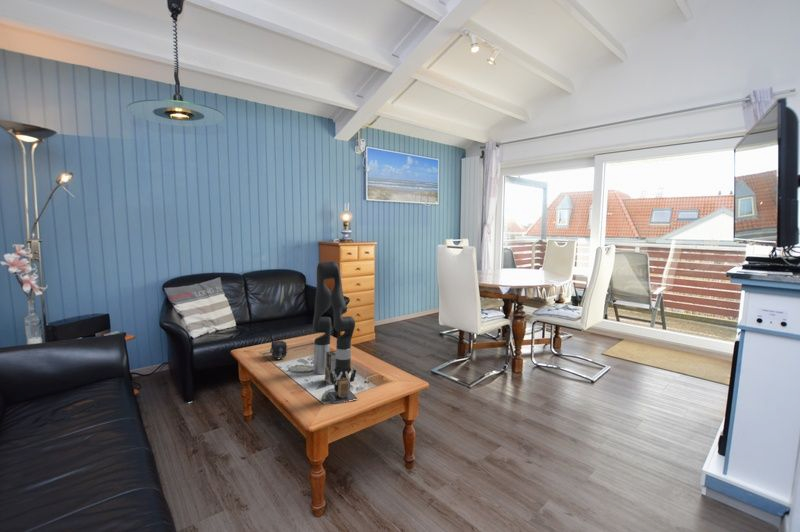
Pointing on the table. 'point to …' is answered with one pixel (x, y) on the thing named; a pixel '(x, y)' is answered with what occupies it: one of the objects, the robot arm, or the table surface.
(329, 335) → the robot arm
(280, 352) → the camera
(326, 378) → the coffee box
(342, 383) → the brown block
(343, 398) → the stub plate
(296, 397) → the table surface
